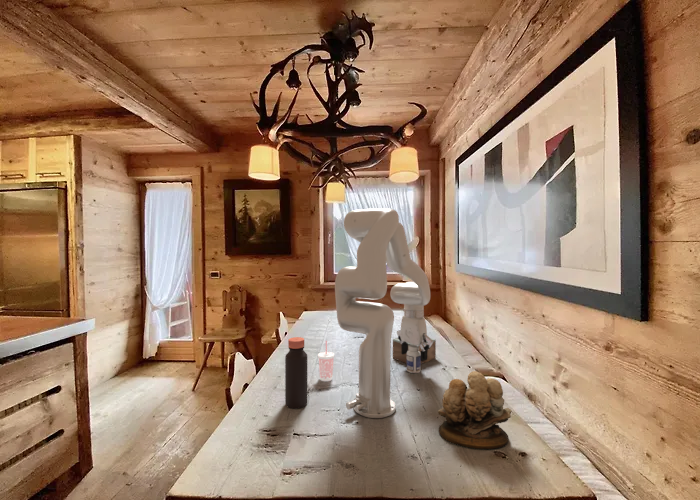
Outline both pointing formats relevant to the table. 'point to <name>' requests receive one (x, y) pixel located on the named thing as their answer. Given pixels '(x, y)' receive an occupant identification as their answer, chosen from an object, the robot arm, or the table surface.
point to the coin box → (403, 357)
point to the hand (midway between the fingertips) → (414, 356)
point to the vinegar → (296, 374)
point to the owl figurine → (474, 413)
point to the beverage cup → (326, 365)
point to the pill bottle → (413, 359)
